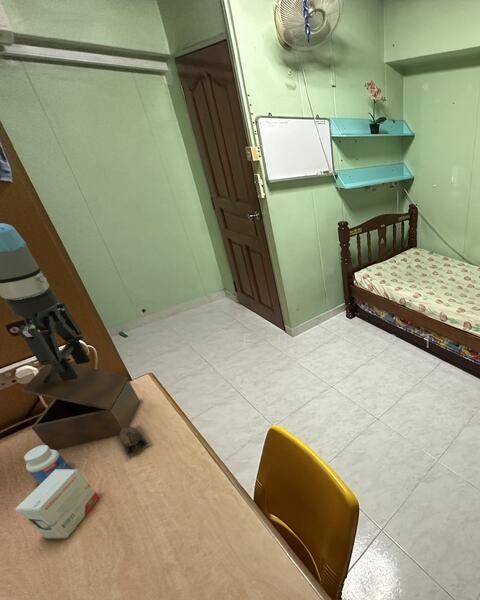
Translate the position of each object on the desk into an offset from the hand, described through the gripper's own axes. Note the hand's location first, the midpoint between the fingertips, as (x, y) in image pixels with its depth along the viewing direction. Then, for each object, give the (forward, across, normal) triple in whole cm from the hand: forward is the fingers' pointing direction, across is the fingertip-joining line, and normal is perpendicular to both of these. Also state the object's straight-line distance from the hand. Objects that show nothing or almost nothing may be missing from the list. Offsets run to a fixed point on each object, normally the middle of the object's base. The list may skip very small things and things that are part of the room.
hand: (77, 370), depth 82 cm
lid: (+5, 0, +1) cm, 5 cm away
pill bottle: (+21, -16, +6) cm, 26 cm away
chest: (+20, 0, +3) cm, 21 cm away
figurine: (+20, -12, -10) cm, 26 cm away
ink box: (+21, -28, -3) cm, 35 cm away
